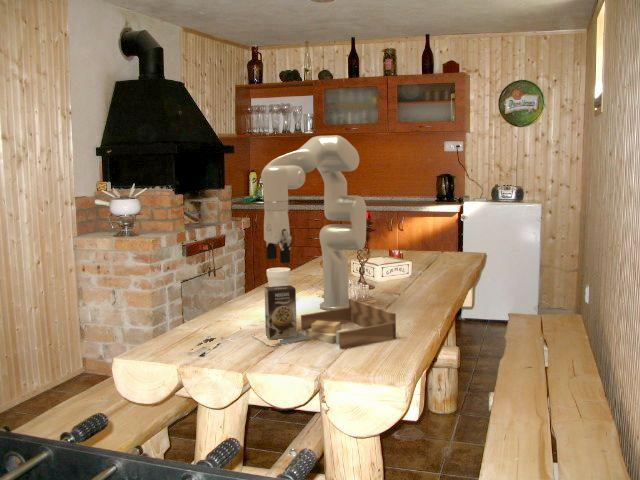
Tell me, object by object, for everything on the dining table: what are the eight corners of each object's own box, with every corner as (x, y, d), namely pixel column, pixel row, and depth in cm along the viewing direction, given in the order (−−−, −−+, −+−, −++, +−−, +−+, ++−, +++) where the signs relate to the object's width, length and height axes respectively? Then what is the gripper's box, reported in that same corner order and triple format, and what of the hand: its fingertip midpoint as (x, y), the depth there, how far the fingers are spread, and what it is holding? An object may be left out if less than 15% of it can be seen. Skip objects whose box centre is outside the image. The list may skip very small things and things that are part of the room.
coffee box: (269, 340, 205) (267, 290, 202) (265, 335, 211) (263, 286, 209) (297, 337, 207) (296, 288, 205) (292, 332, 213) (291, 284, 211)
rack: (301, 329, 218) (300, 306, 217) (352, 320, 228) (351, 298, 226) (341, 349, 195) (340, 323, 194) (395, 338, 205) (395, 313, 204)
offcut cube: (336, 344, 201) (335, 331, 201) (344, 341, 204) (344, 328, 203) (345, 346, 198) (345, 333, 198) (354, 343, 201) (354, 330, 201)
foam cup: (264, 300, 263) (263, 268, 261) (285, 297, 266) (284, 266, 265) (272, 305, 254) (271, 272, 252) (294, 302, 258) (293, 270, 256)
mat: (252, 336, 212) (252, 335, 212) (290, 329, 218) (290, 328, 218) (270, 347, 199) (270, 345, 199) (310, 339, 206) (310, 338, 206)
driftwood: (211, 338, 213) (210, 331, 213) (230, 338, 212) (230, 332, 211) (182, 358, 194) (182, 351, 193) (204, 359, 192) (203, 352, 192)
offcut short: (311, 331, 206) (311, 324, 206) (317, 327, 211) (316, 320, 210) (335, 333, 203) (335, 326, 203) (340, 329, 208) (340, 322, 208)
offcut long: (306, 338, 210) (306, 329, 209) (319, 334, 214) (319, 325, 213) (333, 345, 201) (332, 336, 201) (346, 341, 205) (346, 332, 205)
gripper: (254, 205, 209) (256, 258, 211) (277, 209, 194) (279, 265, 196) (275, 204, 213) (277, 256, 215) (299, 207, 198) (301, 263, 200)
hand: (278, 260), depth 206 cm, fingers open, 9 cm apart
